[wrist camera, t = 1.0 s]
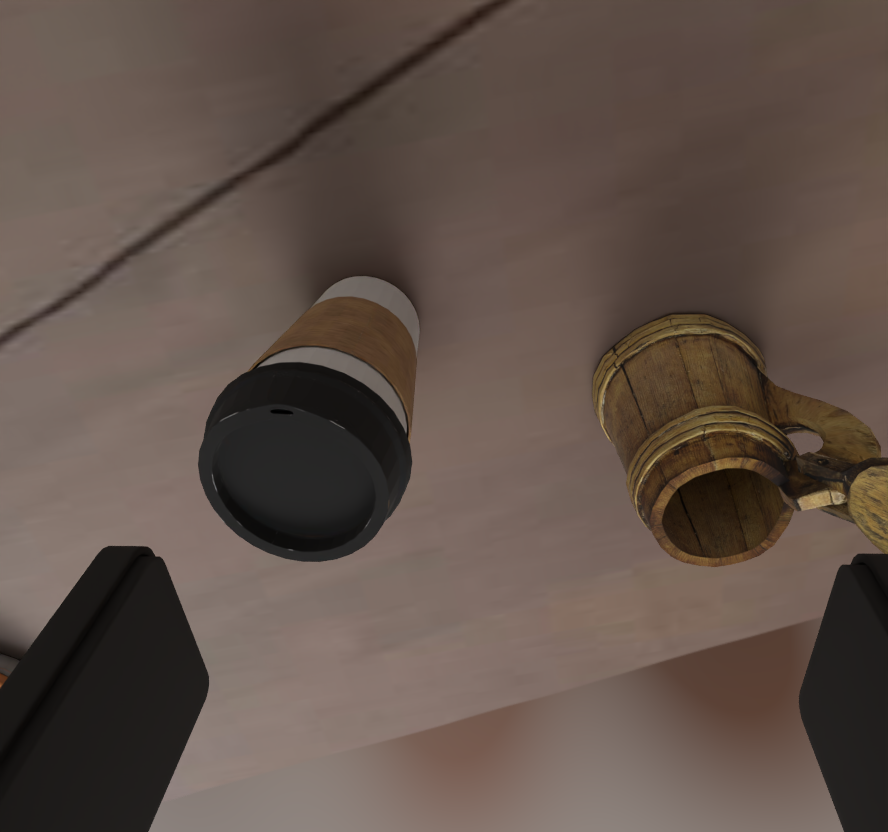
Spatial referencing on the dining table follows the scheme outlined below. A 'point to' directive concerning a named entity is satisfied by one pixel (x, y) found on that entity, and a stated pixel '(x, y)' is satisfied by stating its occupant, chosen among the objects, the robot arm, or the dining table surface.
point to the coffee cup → (319, 427)
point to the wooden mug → (728, 444)
